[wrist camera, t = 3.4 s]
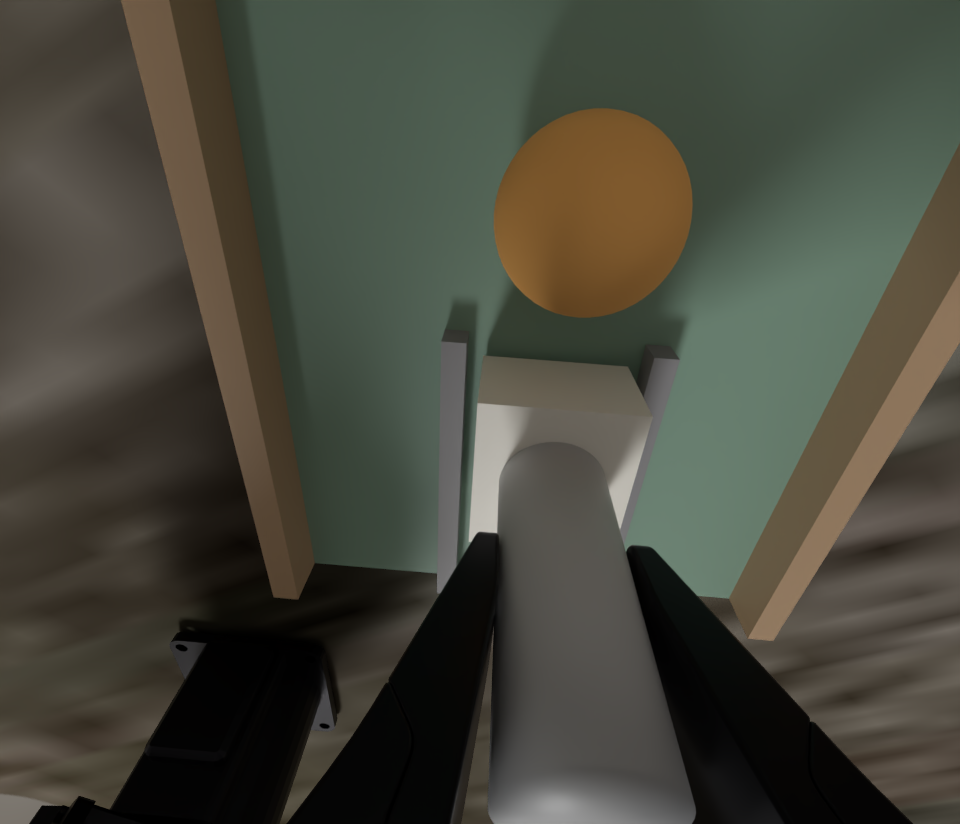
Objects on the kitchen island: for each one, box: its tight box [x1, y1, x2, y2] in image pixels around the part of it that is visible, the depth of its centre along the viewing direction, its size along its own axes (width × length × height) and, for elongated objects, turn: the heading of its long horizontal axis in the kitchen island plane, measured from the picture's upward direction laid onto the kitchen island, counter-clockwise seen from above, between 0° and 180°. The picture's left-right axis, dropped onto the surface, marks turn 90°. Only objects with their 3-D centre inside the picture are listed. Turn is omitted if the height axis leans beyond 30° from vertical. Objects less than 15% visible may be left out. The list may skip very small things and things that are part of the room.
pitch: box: [121, 0, 960, 641], centre depth 10 cm, size 22×16×2 cm
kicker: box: [469, 355, 696, 824], centre depth 9 cm, size 4×4×8 cm
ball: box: [494, 108, 693, 318], centre depth 9 cm, size 4×4×4 cm
